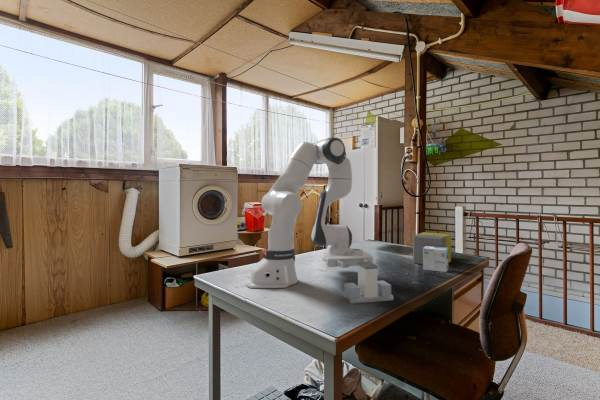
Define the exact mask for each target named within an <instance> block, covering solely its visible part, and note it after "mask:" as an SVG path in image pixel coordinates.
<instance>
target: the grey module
mask: <svg viewBox="0 0 600 400" xmlns="http://www.w3.org/2000/svg"><path fill="white" fill-rule="evenodd" d="M377 281H378V265H377V264H375V263H374V262H373V263H372V262H370V261H365V262H358V266H357V286H358V287H360V293H361V294H362V295H363V296H364V297H377Z"/></svg>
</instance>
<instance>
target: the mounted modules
mask: <svg viewBox="0 0 600 400" xmlns="http://www.w3.org/2000/svg"><path fill="white" fill-rule="evenodd" d="M344 291H345V293H346V294H347V295H348V296H349V297H350V298H359V297H360V287H358V284H356V283H355V282H345V283H344ZM377 292H378V293H379V294H381V295H382V296H383V295H392V284H390V283H388V282H387V281H385V280H377Z"/></svg>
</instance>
